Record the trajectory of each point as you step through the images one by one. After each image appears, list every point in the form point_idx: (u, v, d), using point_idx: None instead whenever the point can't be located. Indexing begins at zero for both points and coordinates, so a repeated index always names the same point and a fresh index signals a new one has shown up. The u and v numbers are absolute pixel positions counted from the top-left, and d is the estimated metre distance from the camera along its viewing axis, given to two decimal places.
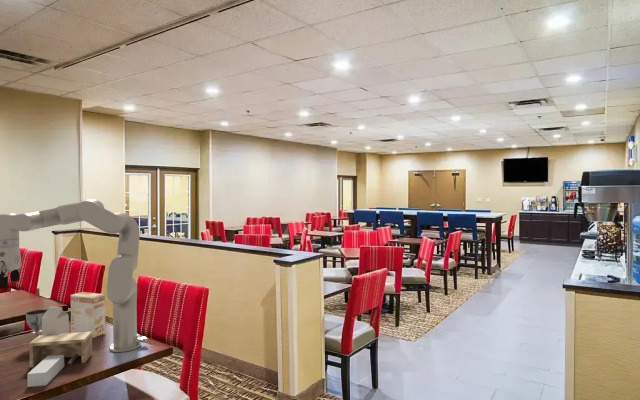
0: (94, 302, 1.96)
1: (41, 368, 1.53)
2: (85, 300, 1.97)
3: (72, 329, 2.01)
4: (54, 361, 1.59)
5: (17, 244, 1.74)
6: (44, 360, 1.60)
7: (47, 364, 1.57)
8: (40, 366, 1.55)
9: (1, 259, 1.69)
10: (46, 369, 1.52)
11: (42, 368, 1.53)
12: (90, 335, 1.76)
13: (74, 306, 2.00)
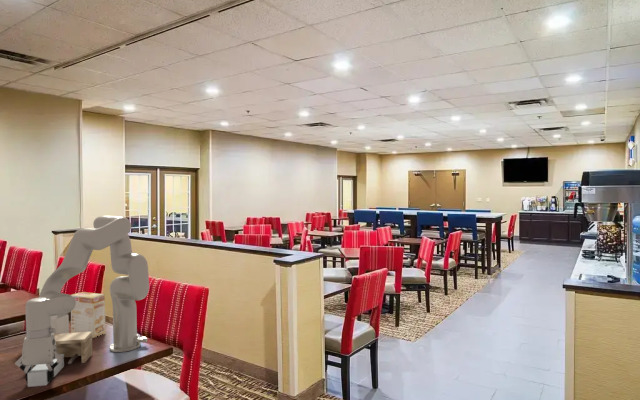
0: (94, 302, 1.96)
1: (41, 367, 1.53)
2: (85, 300, 1.97)
3: (72, 329, 2.01)
4: (54, 360, 1.59)
5: None
6: None
7: None
8: (40, 365, 1.55)
9: (53, 348, 1.52)
10: (46, 368, 1.52)
11: (42, 368, 1.53)
12: (90, 335, 1.76)
13: None
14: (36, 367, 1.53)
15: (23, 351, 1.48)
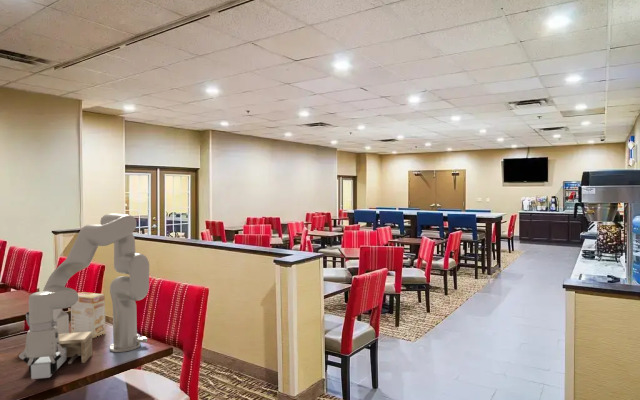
0: (94, 302, 1.96)
1: (44, 360, 1.55)
2: (85, 300, 1.97)
3: (72, 329, 2.01)
4: (57, 353, 1.61)
5: None
6: None
7: None
8: (43, 358, 1.57)
9: (56, 341, 1.54)
10: (49, 361, 1.55)
11: (45, 360, 1.55)
12: (90, 335, 1.76)
13: (74, 306, 2.00)
14: (39, 360, 1.56)
15: (26, 344, 1.51)
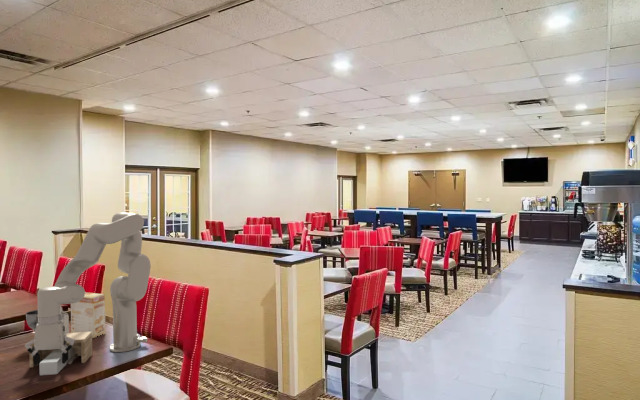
0: (94, 302, 1.96)
1: (52, 358, 1.62)
2: (85, 300, 1.97)
3: (72, 329, 2.01)
4: None
5: None
6: (55, 351, 1.69)
7: (58, 354, 1.66)
8: (51, 356, 1.64)
9: (64, 334, 1.61)
10: (57, 359, 1.61)
11: (53, 358, 1.62)
12: (90, 335, 1.76)
13: (74, 306, 2.00)
14: (47, 358, 1.62)
15: (35, 337, 1.58)
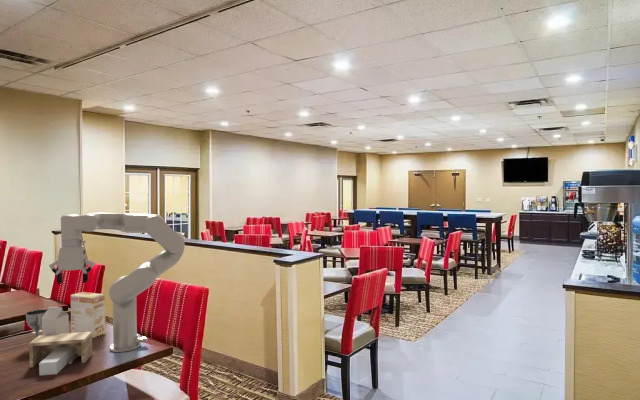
0: (94, 302, 1.96)
1: (52, 358, 1.62)
2: (85, 300, 1.97)
3: (72, 329, 2.01)
4: (64, 352, 1.68)
5: None
6: (55, 351, 1.69)
7: (58, 354, 1.66)
8: (51, 356, 1.64)
9: (84, 257, 1.78)
10: (56, 359, 1.61)
11: (53, 358, 1.62)
12: (90, 335, 1.76)
13: (74, 306, 2.00)
14: (47, 358, 1.62)
15: (58, 258, 1.75)
